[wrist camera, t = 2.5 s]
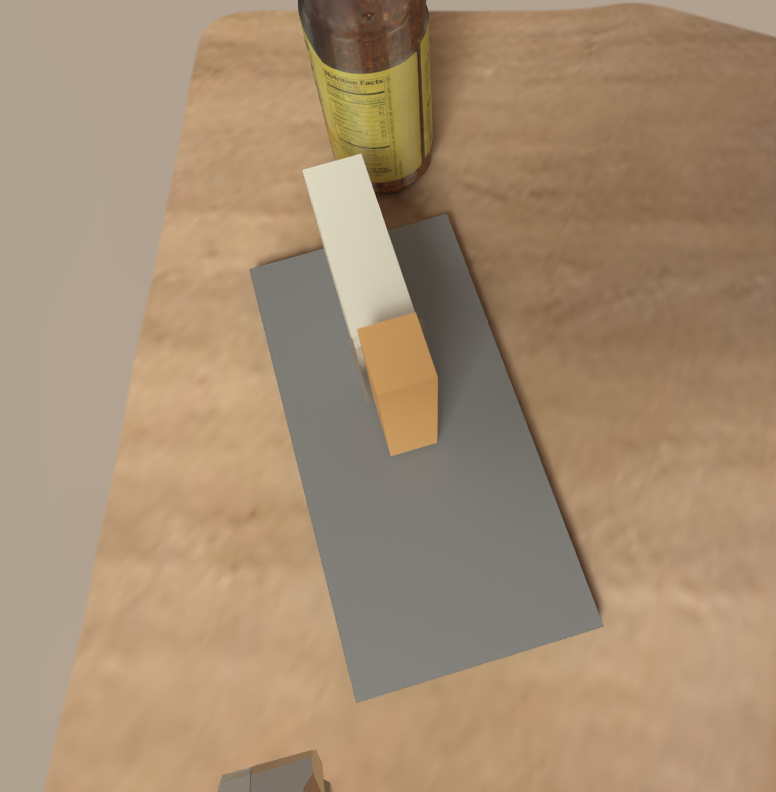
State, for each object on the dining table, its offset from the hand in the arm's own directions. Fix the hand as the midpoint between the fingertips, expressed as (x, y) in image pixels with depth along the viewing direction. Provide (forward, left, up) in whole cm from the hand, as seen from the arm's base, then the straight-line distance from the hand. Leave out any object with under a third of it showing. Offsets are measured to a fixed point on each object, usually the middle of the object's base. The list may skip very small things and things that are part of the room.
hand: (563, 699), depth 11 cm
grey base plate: (0, -12, -23) cm, 26 cm away
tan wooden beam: (0, -12, -22) cm, 25 cm away
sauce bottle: (-4, -30, -24) cm, 38 cm away
